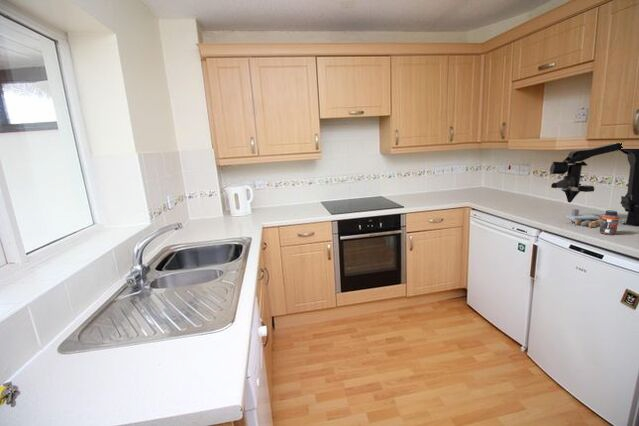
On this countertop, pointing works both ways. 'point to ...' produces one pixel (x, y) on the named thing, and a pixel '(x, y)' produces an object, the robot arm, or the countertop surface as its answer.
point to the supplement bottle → (609, 223)
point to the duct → (591, 224)
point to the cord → (586, 222)
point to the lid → (579, 217)
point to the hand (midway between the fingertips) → (569, 202)
